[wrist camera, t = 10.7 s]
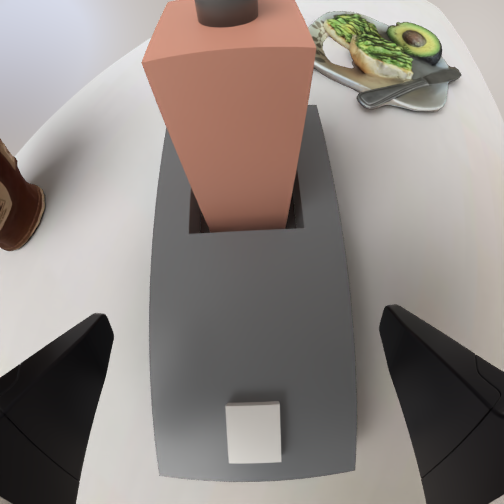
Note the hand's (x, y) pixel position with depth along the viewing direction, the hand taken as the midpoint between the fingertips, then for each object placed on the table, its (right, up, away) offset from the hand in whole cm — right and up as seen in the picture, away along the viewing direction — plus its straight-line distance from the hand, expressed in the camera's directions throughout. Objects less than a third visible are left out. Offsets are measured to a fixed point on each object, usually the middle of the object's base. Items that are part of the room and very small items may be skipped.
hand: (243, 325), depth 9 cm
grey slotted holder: (0, 0, +9) cm, 9 cm away
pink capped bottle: (0, +5, +10) cm, 12 cm away
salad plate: (+14, +23, +16) cm, 32 cm away
